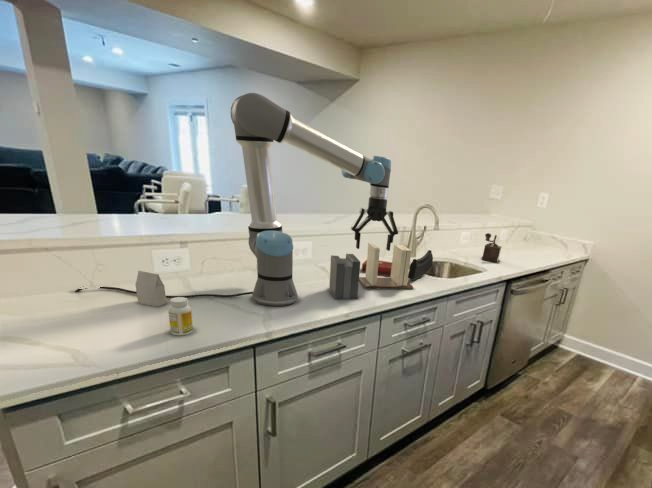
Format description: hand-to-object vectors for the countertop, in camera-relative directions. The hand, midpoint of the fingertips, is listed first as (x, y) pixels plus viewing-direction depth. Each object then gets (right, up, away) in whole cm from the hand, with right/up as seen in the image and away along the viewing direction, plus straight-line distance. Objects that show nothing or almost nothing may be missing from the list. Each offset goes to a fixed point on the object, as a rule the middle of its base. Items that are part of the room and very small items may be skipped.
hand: (373, 249), depth 164 cm
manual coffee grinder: (+67, +11, +89) cm, 112 cm away
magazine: (+21, -7, +32) cm, 39 cm away
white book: (-2, -13, +6) cm, 15 cm away
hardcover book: (+3, -6, +28) cm, 29 cm away
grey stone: (-66, -26, -43) cm, 82 cm away
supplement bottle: (-47, -35, -57) cm, 82 cm away
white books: (+10, -13, +11) cm, 20 cm away
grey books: (-11, -20, -10) cm, 25 cm away
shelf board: (+5, -14, +9) cm, 17 cm away
